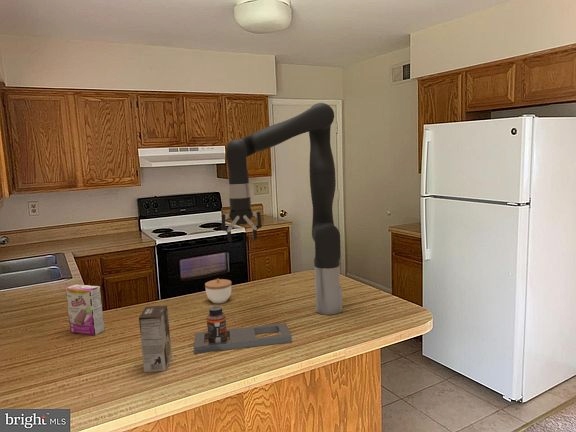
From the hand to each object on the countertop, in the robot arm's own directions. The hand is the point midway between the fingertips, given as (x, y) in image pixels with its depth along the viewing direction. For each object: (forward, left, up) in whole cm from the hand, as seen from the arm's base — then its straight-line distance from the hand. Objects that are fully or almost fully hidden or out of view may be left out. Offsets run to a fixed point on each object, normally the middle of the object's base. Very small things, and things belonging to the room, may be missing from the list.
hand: (242, 240), depth 158 cm
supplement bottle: (+11, +22, -28) cm, 37 cm away
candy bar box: (+56, 0, -28) cm, 63 cm away
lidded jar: (+10, -20, -28) cm, 36 cm away
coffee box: (+28, +32, -28) cm, 51 cm away
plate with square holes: (+3, +22, -28) cm, 36 cm away
